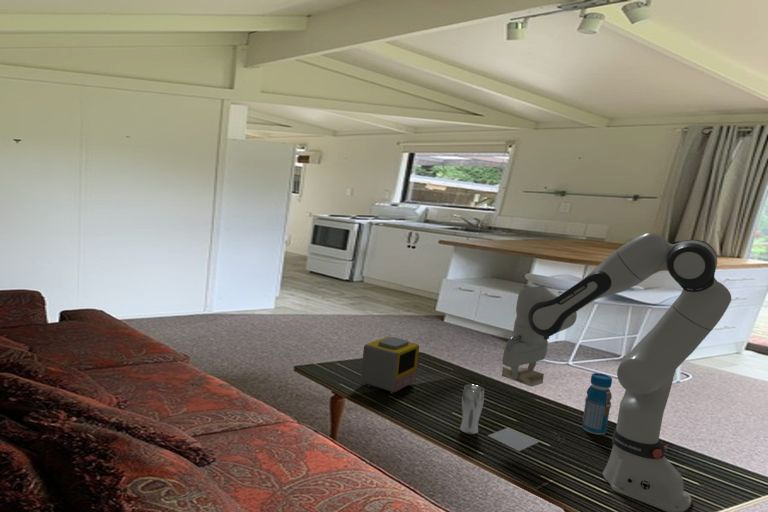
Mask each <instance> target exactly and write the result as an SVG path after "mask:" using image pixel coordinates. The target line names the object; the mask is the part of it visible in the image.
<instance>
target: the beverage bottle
mask: <svg viewBox="0 0 768 512" xmlns="http://www.w3.org/2000/svg"><path fill="white" fill-rule="evenodd" d="M612 381H613V378H612V377H611V376H609V375H608V374H604V373H598V372H593V373H592V374H591V377H590V384H591V385H589V386H588V388H587V389H586V394H587V395H586V397H585V398H584V402H585V403H584V410H583V417H582V423H581V428H582V429H583V430H584V431H585V432H588V433H589V434H594V435H597V436H602V435H605V434H606V433H607V428H608V421H609V415H610V411H611V410H610V409H611V408H612V407H611V406H612V402H611V400H612V397H613V396H612V393H611V390H610V388H611V387H612V383H613V382H612Z"/></svg>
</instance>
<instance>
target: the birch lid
mask: <svg viewBox="0 0 768 512" xmlns="http://www.w3.org/2000/svg"><path fill="white" fill-rule="evenodd" d="M527 368H528V367H524V366H522V365H520V366H519V369H518V373H520V374H519V378H517V379H514V378H512V370H511V367H508V366H505V365H504V366H502V370H501V377H504V378H507V379H510V380H512V381H515V382H518V383H521V384H523V385H526V386H529V387H535V386H539V385H541V384H543V383H544V376H545V374H544V373H542V372H539V371H536V370H534V369H533V370H530V369H527Z"/></svg>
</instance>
